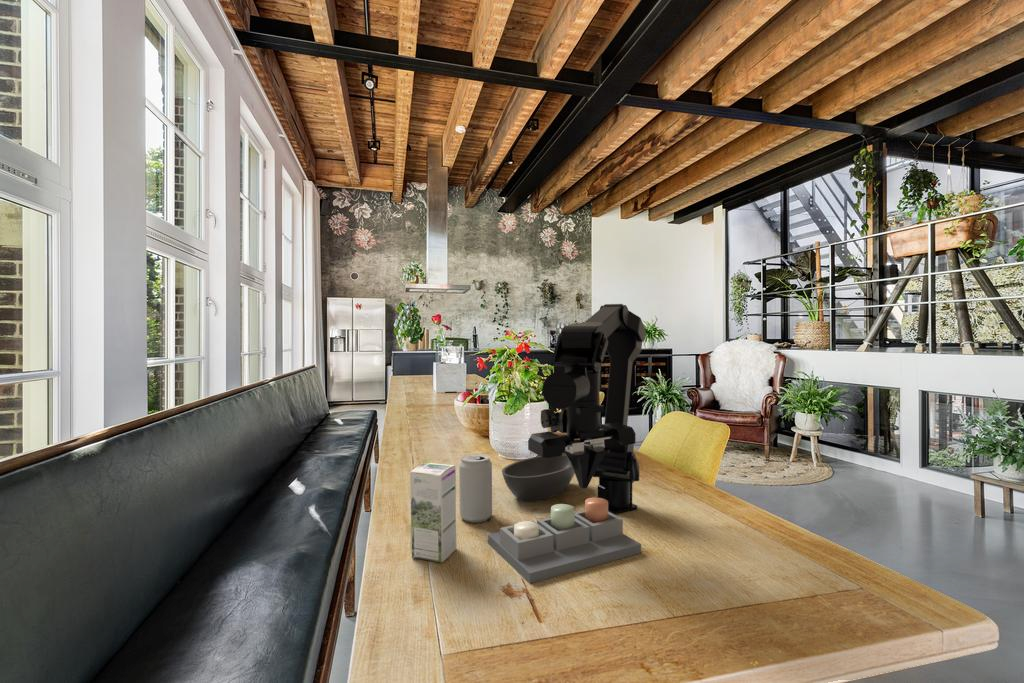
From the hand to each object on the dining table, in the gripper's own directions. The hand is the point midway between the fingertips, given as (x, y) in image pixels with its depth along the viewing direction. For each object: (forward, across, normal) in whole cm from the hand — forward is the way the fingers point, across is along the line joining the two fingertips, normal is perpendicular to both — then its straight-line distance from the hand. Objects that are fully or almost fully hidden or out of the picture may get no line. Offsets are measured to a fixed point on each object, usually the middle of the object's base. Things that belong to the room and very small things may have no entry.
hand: (583, 487), depth 86 cm
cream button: (+7, +12, +1) cm, 14 cm away
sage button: (+6, +5, 0) cm, 7 cm away
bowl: (+10, -6, -26) cm, 28 cm away
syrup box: (+9, +25, -7) cm, 27 cm away
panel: (+9, +5, 0) cm, 10 cm away
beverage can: (+10, +13, -18) cm, 25 cm away
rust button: (+6, -2, 0) cm, 7 cm away
